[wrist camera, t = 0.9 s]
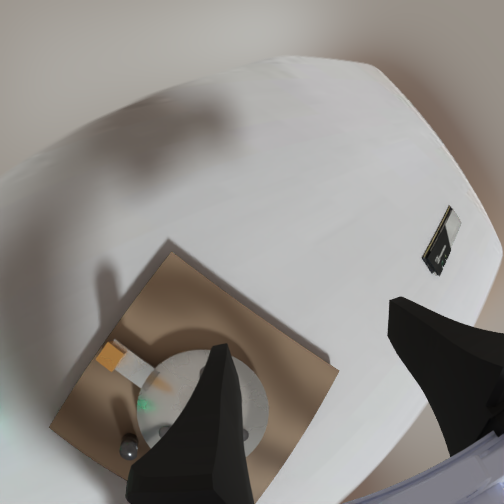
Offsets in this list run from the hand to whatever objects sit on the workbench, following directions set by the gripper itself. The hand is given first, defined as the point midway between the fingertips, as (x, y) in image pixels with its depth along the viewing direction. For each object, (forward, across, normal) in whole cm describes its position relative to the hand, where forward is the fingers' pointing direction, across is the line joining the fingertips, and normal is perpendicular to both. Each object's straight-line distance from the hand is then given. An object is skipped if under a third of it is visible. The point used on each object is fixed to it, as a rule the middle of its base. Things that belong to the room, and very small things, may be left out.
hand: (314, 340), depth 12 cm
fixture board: (+9, +9, +13) cm, 18 cm away
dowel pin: (+5, +15, +12) cm, 20 cm away
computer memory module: (+27, -29, +12) cm, 41 cm away
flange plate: (+8, +10, +10) cm, 16 cm away
